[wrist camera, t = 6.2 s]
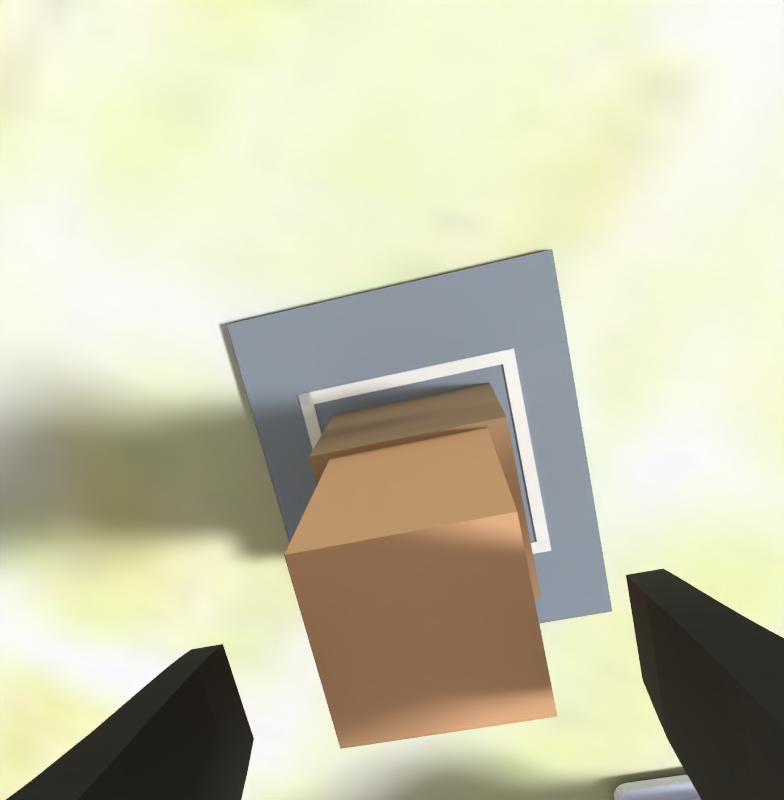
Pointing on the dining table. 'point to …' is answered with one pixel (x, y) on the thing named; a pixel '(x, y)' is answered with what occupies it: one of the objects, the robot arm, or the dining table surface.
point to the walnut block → (427, 436)
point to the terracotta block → (419, 593)
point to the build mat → (436, 373)
